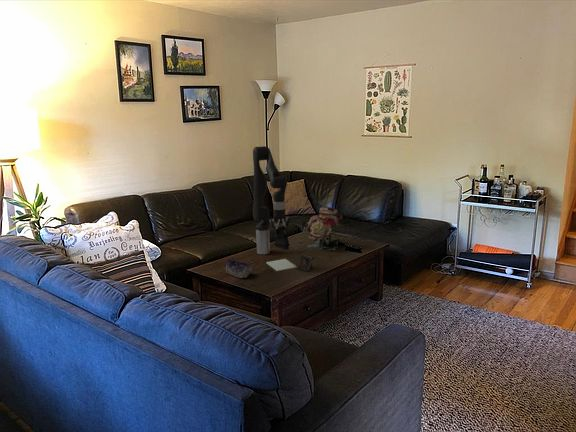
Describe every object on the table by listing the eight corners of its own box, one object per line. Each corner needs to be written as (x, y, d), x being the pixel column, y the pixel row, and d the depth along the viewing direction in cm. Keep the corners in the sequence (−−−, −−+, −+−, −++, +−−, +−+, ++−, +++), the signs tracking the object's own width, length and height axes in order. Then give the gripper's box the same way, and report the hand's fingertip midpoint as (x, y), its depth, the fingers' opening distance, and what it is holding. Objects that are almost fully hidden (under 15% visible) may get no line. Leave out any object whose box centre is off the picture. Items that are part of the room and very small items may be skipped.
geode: (218, 274, 290) (219, 258, 289) (232, 271, 299) (232, 256, 298) (242, 279, 278) (242, 263, 277) (255, 276, 287) (255, 260, 286)
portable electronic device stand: (296, 269, 295) (296, 256, 293) (304, 265, 301) (304, 253, 299) (307, 272, 289) (307, 259, 287) (315, 268, 295) (315, 256, 293)
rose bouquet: (311, 240, 358) (310, 201, 351) (348, 243, 346) (348, 204, 339) (298, 249, 335) (297, 209, 328) (337, 253, 323) (336, 211, 316)
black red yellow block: (288, 249, 291) (281, 226, 293) (276, 253, 302) (269, 231, 303) (292, 247, 294) (285, 225, 296) (280, 252, 304) (274, 230, 306)
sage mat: (266, 263, 308) (266, 262, 308) (285, 259, 314) (285, 258, 314) (277, 271, 292) (277, 270, 292) (297, 267, 298) (297, 266, 298)
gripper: (287, 205, 300) (287, 231, 304) (266, 208, 295) (267, 234, 299) (292, 207, 294) (292, 233, 298) (271, 210, 288) (272, 237, 292)
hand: (280, 233), depth 298 cm, fingers closed on black red yellow block, 4 cm apart
